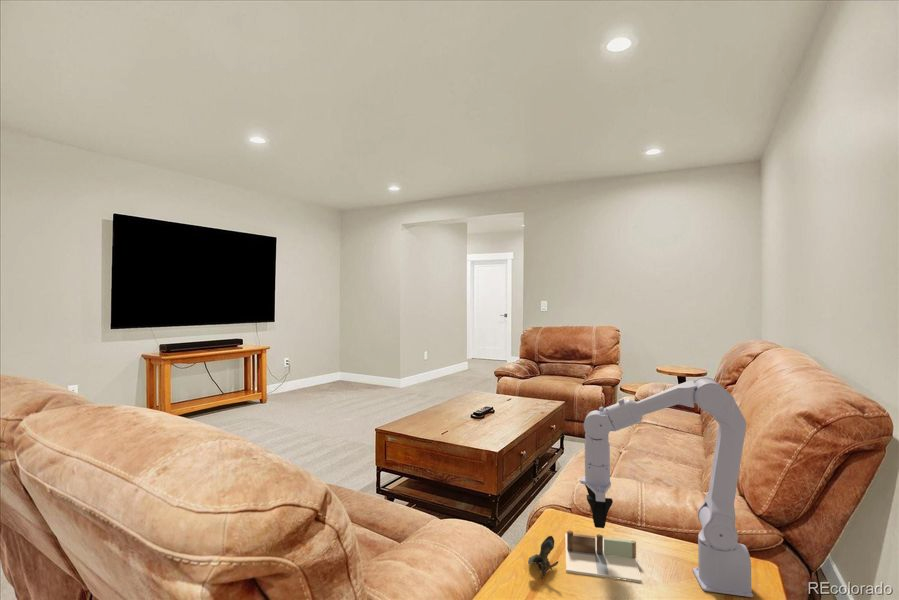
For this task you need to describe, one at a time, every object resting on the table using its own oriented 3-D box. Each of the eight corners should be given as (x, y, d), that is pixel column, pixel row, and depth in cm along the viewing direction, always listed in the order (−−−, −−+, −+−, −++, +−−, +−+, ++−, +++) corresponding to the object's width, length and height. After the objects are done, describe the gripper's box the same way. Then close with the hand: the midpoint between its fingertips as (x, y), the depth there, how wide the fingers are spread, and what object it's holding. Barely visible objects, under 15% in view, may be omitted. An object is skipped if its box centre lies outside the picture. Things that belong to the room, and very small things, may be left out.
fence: (602, 552, 108) (602, 534, 108) (603, 555, 107) (603, 537, 107) (567, 548, 110) (567, 530, 110) (567, 551, 109) (567, 533, 109)
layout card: (629, 543, 113) (629, 540, 113) (641, 582, 97) (641, 580, 97) (565, 535, 117) (565, 533, 117) (566, 572, 101) (566, 569, 101)
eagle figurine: (568, 576, 98) (561, 546, 106) (551, 551, 97) (545, 523, 106) (538, 591, 99) (534, 561, 108) (521, 566, 98) (518, 538, 107)
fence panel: (604, 554, 107) (604, 539, 107) (603, 551, 108) (603, 537, 108) (636, 558, 105) (636, 543, 105) (635, 555, 106) (635, 540, 106)
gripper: (578, 451, 115) (578, 504, 114) (581, 471, 100) (582, 532, 100) (607, 453, 113) (607, 507, 113) (614, 474, 99) (615, 536, 99)
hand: (597, 519), depth 106 cm, fingers open, 7 cm apart
